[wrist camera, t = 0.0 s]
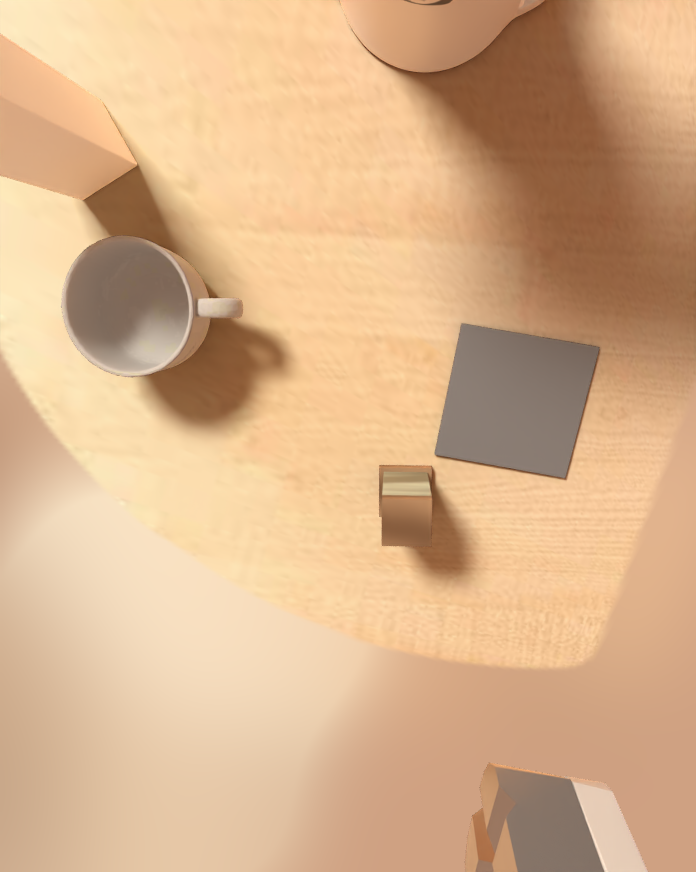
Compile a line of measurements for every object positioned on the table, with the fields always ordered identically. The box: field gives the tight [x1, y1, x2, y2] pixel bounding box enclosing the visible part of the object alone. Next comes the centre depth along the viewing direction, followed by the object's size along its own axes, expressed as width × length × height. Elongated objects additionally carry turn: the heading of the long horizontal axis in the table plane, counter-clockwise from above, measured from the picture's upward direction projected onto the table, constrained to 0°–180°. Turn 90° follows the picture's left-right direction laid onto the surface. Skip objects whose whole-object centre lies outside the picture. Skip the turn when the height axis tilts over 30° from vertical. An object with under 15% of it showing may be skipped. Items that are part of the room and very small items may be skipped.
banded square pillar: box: [379, 465, 432, 547], centre depth 53 cm, size 5×5×8 cm
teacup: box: [61, 235, 243, 377], centre depth 51 cm, size 14×11×8 cm
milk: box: [0, 34, 137, 200], centre depth 42 cm, size 6×6×22 cm
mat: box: [435, 323, 600, 478], centre depth 54 cm, size 12×12×1 cm
